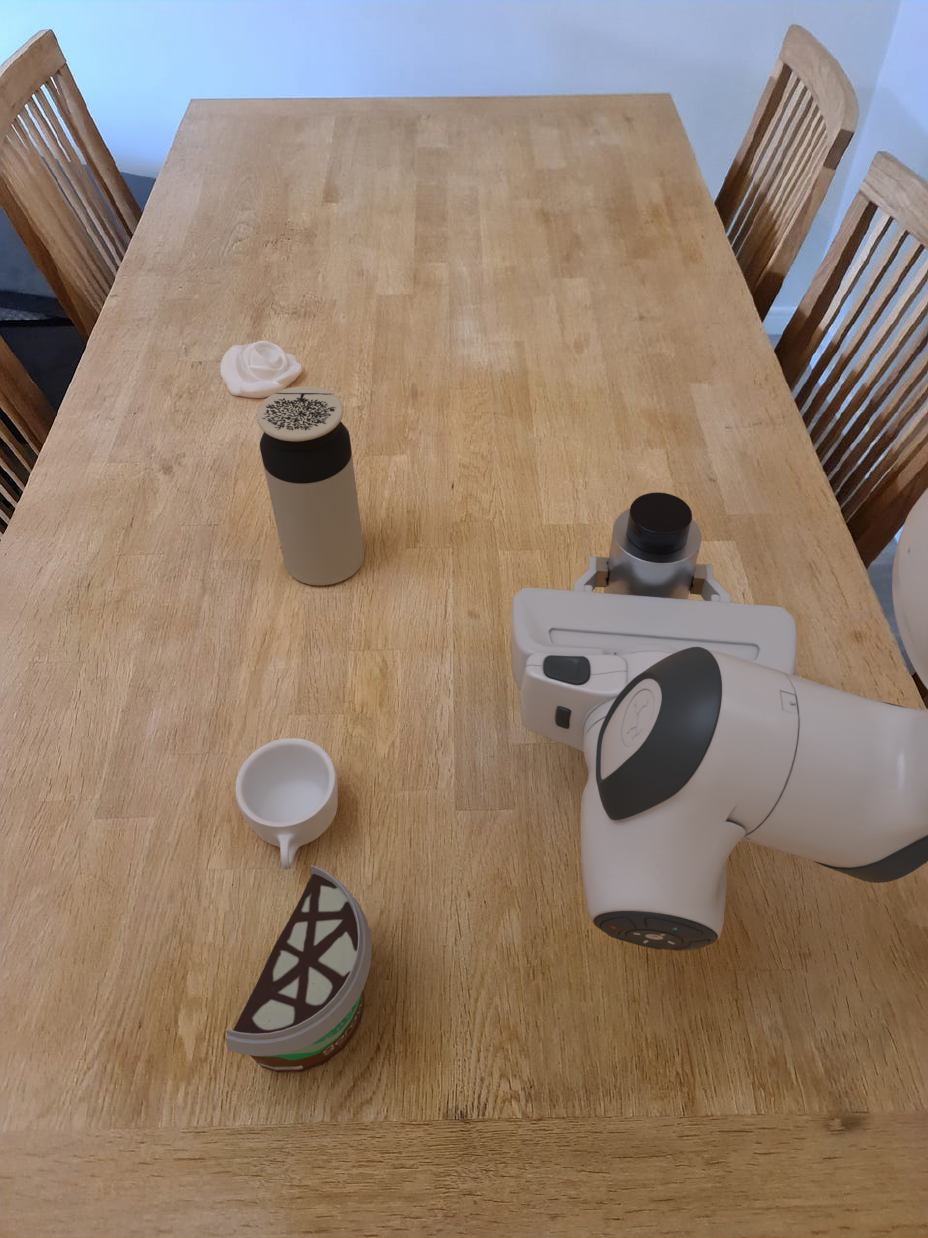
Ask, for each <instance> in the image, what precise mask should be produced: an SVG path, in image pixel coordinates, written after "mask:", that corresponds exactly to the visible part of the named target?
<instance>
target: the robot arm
mask: <svg viewBox="0 0 928 1238" xmlns="http://www.w3.org/2000/svg"><path fill="white" fill-rule="evenodd" d="M588 557H589V558H588V566H587V570H586V571H584V573H583V574H582V575H581V576H580V577H579V578H578V579H577V580H576V581H574V583H573V586H572V587H573V588H572V590H570V589H569V590H567V589H556V588H555V589H554V588H542V587H531V586H527V587H523V588H522V589H520V590H518V591H517V592H516V593H515V594H514V595H513V596H512V597H511V608H510V633H509V634H510V638H509V639H510V641H509V643H510V662H511V671H512V677H513V680H514V683H515V685H516V687H517V689H518V690H519V691H520V715H521V720H522V724H523V725H522V726H523V727H524V728H525V729H526V730H527V731H529V732H531V733H534V734H536V735H539V736H542V737H545V738H548V739H550V740H552V741H556V742H558V743H561V744H563V745H566V746H567V747H571V748H573V749H576V750H578V751H580V752H582V753H583V758H584V761H585V764H586V767H587V773H588V775H587V780H586V784H585V786H584V788H583V791H582V795H581V799H580V801H581V802H580V819H579V820H580V821H579V822H580V825H579V826H580V829H579V831H580V836H579V838H580V839H579V840H580V841H579V843H580V864H581V866H580V867H581V877H582V885H583V892H584V893H583V894H584V900H585V905H586V909H587V912H588V915H589V918H590V920H591V923H593V925H594V926H596V928H597V929H599V930H600V931H602V932H603V933H605V934H607V936H609V937H611V938H613V939H615V940H619V941H622V942H625V943H630V944H633V945H636V946H640V947H645V948H649V949H654V950H658V951H662V950H665V951H675V952H683V951H684V952H685V951H694V950H700V949H702V948H704V947H707V946H710V945H712V944H715V943H717V941H719V939H720V938H721V936H722V933H723V929H724V922H725V916H726V906H727V894H728V893H727V891H728V859H729V857H730V855H731V853H732V852H733V850H734V849H735V847H736V846H737V845H738V844H739V843H740V842H744V843H747V844H751V845H754V846H755V845H756V846H759V847H762V848H765V849H769V850H773V851H776V852H780V853H783V854H787V855H791V856H794V857H798V858H802V859H805V860H807V861H812V862H814V863H816V864H818V865H820V866H823V867H824V868H825V867H826V868H828V869H830V870H833V871H836V872H839V873H841V874H844V875H847V876H850V877H852V878H855V879H858V880H861V881H863V882H866V883H871V884H874V883H875V884H881V883H882V884H884V883H888V882H893V881H896V880H899V879H902V878H904V877H906V876H908V875H909V874H911V873H913V872H914V871H916V870H918V869H919V868H921V867H922V866H923V865H925V864H926V863H928V708H913V707H912V708H911V707H906V706H903V705H898V704H894V703H890V702H886V701H878V700H875V699H872V698H868V697H864V696H861V695H858V694H854V693H852V692H849V691H845V690H842V689H839V688H835V687H832V686H829V685H827V684H823V683H820V682H817V681H814V680H811V679H807V678H804V677H801V676H800V675H799V674H798V673H797V672H796V671H795V668H796V663H797V662H796V661H797V650H798V649H797V647H798V633H797V632H798V631H797V622H796V618H795V617H794V615H792V614H791V613H790V612H789V611H788V610H787V609H786V608H784V607H783V606H780V605H768V604H767V605H766V604H753V603H752V604H751V603H740V602H732V599H731V598H732V597H731V594H730V593H729V592H728V591H727V590H726V589H725V588H724V587H723V586H722V585H721V584H720V583H719V582H718V581H717V580H716V579H714V568H713V565H712V564H705V563H696V566H695V570H694V574H693V579H692V583H691V587H690V591H689V595H696V596H697V595H698V596H700V597H701V598H702V600H700V599H675V598H662V597H649V596H635V595H622V594H609V593H604V592H597V591H596V592H595V591H594V590H595V589H596V588H604V587H606V585H607V577H608V559H609V557H607V556H606V557H605V556H594V555H589V556H588ZM892 564H893V565H892V577H891V579H892V581H891V586H892V587H891V589H892V590H891V591H892V593H891V594H892V595H891V596H892V604H893V612H894V617H895V623H896V626H897V629H898V632H899V636H900V638H901V642H902V644H903V648H904V649H905V652H906V654H907V657H908V659H909V660H910V663H911V665H912V667H913V669H914V670H915V672H916V674H917V676H918V677H919V680H920V681H921V683H922V684H923V685H924V687H925V688H926V689H927V690H928V487H926V489H925V490H924V491H923V492H922V494H921V495H920V497H919V498H918V499H917V500H916V502H915V503H914V504H913V506H912V508H911V509H910V511H909V512H908V514H907V516H906V518H905V521H904V523H903V526H902V529H901V532H900V535H899V538H898V541H897V546H896V549H895V554H894V559H893V563H892Z"/></svg>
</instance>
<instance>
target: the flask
mask: <svg viewBox="0 0 928 1238" xmlns="http://www.w3.org/2000/svg"><path fill="white" fill-rule="evenodd" d="M611 532H612V533H611V539H610V544H609V545H610V546H609V553H608V558H609V559H608V577H607V585H606V587H603V593H609V594H622V595H635V596H649V597H662V598H675V599H688V598H689V596H690V587H691V583H692V579H693V574H694V570H695V566H696V564H697V561H698V557H699V554H700V549H701V544H702V540H703V539H702V532H701V528H700V527H699V525H698V524H697V522H696V521H695V519H693V512H692V510H691V507H690V506H689V504H687V502H686V501H685V500H683V499H682V498H681V497H679V496H676V495H673V494H670V493H666V492H660V491H659V492H655V491H654V492H648V493H644V494H642V495H640V496H638V497H637V498H635V499H634V500H633V502H632V503H631V504H630V507H629V508H627V509H626V510H624V511H623V512H622V513H620V514H619V515H618V516H617V518H616V519H615V521H614V522H613V524H612V531H611ZM688 600H689V599H688Z"/></svg>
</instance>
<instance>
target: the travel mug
mask: <svg viewBox="0 0 928 1238" xmlns="http://www.w3.org/2000/svg"><path fill="white" fill-rule="evenodd" d="M344 413H345V410H344V404H343V402H342V400H341V399H340V398H339V397H338V396H337V395H336V394H335V393H333V392H332V391H330V390H328V389H326V388H322V387H318V386H312V385H300V386H292V387H286V388H285V389H284V390H281V391H278V392H276V393H274V394H272V395H271V396H269V397H265V399H264V400H263V401H262V402H261V403H260V404H259V406H258V408H257V411H256V422H257V425H258V427H259V428H260V430H261V431H262V435H261V438H260V441H259V451H260V456H261V460H262V464H263V469H264V474H265V478H266V484H267V488H268V492H269V498H270V502H271V507H272V511H273V516H274V522H275V525H276V530H277V535H278V539H279V544H280V549H281V554H282V558H283V563H284V567H285V569H286V571H287V573H289V575H290V576H292V578H294V579H295V580H297V581H298V582H301V583H303V584H307V585H312V586H330V585H335V584H337V583H340V582H343V581H345V580H347V579H349V578H351V577H352V576H353V575H354V574H356V573H357V571H358V570H359V569H360V568H361V566H362V565H363V563H364V560H365V547H364V538H363V531H362V523H361V515H360V507H359V506H360V505H359V498H358V492H357V491H358V490H357V483H356V473H355V467H354V460H353V451H352V443H351V435H350V432H349V430H348V428H347V426H346V425H345V424H344V423H343V422H342V419H343V418H344Z"/></svg>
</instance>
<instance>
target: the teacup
mask: <svg viewBox="0 0 928 1238" xmlns="http://www.w3.org/2000/svg"><path fill="white" fill-rule="evenodd" d="M338 787H339V786H338V773H337V769H336V767H335V764H334V763H333V760H332V759H331V757H330V756H329V754H328V753H327V752H326V751H325V750H324V748H322V747H321V746H319V745H318V744H317V743H315V742H313V741H310V740H308V739H305V738H298V737H284V738H279V739H275V740H271V741H270V742H267V743H265V744H263V745H262V746H260V747H258V748H257V749H256V750H254V751H253V752H252V753H251V754H250V755H249V756H248V757H246V759H245V761H244V762H243V763H242V765H241V767H240V769H239V771H238V774H237V776H236V780H235V793H234V794H235V800H236V804H237V807H238V810H239V812H240V814H241V815H242V817H243V819H244V821H245V823H246V825H247V826H248V827H249V828H250V829H251V831H252V832H253V833H255V834H256V836H257V837H259V838H260V839H261V840H262V841H264V842H265V843H267V844H269V845H272V846H276V847H279V849H280V851H279V852H280V862H281V863H280V864H281V867H282V869H283V870H285V871H289V870H291V869H292V866H293V864H294V860H295V856H296V853H297V851H298V850H299V848H300V847H302V846H304V845H307V844H309V843H311V842H313V841H315V840H317V839H318V838H319V837H320V836H322V835H323V834H324V833H325V832H326V831H327V830H328V829H329V828H330V826H331V825H332V823H333V821H334V820H335V817H336V815H337V811H338V802H339V801H338V796H339V795H338V794H339V793H338V792H339V788H338Z"/></svg>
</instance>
